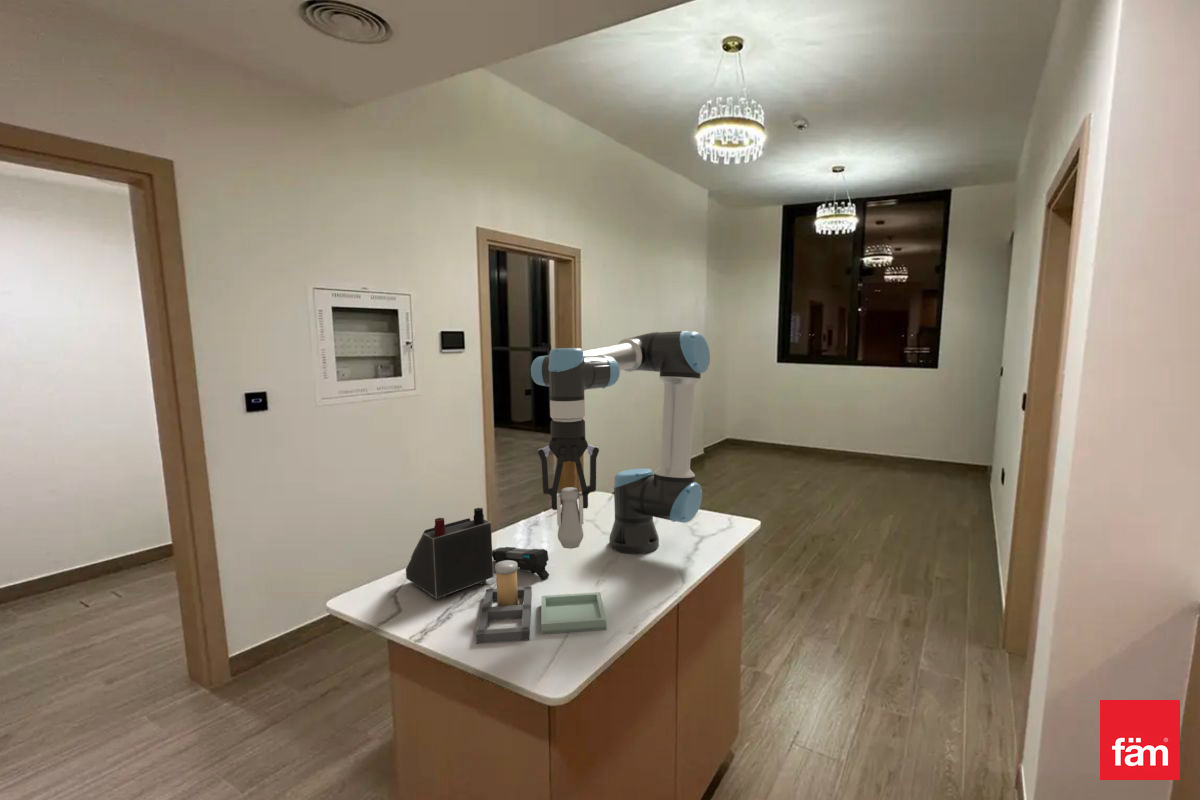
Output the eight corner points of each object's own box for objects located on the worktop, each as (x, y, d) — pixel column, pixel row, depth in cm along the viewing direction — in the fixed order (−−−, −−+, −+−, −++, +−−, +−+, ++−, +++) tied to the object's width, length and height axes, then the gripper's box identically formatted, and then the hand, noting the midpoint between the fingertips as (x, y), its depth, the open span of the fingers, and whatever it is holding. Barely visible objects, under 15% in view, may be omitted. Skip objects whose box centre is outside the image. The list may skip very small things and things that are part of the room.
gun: (542, 581, 140) (532, 543, 141) (497, 586, 153) (488, 551, 154) (554, 576, 143) (544, 538, 144) (509, 580, 156) (500, 546, 157)
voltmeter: (460, 564, 152) (457, 495, 150) (493, 582, 141) (490, 508, 139) (406, 583, 141) (401, 509, 139) (436, 604, 130) (432, 523, 127)
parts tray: (600, 600, 129) (600, 592, 129) (606, 629, 117) (606, 619, 116) (541, 604, 128) (541, 595, 128) (541, 634, 115) (541, 624, 115)
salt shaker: (557, 541, 123) (556, 485, 122) (582, 539, 124) (581, 484, 122) (558, 550, 117) (556, 492, 116) (584, 549, 118) (583, 491, 116)
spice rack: (531, 593, 134) (530, 554, 133) (529, 639, 113) (527, 593, 112) (486, 596, 133) (485, 556, 132) (476, 643, 112) (473, 596, 111)
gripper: (605, 415, 122) (606, 515, 125) (528, 417, 120) (531, 519, 123) (609, 420, 115) (610, 526, 117) (527, 422, 113) (530, 530, 115)
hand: (570, 522), depth 120 cm, fingers closed on salt shaker, 4 cm apart
